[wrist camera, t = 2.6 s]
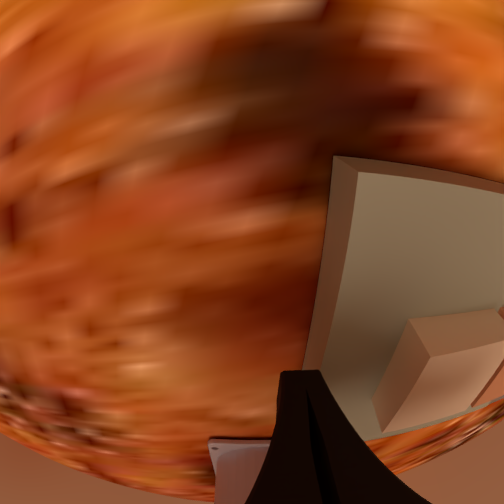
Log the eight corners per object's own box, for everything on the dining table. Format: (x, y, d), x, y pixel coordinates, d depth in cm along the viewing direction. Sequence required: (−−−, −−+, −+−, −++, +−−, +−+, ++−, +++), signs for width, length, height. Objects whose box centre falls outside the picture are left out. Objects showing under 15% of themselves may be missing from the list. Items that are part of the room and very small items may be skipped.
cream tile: (451, 382, 12) (465, 410, 10) (371, 399, 12) (381, 433, 10) (493, 308, 10) (517, 336, 8) (408, 318, 10) (430, 357, 8)
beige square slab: (474, 383, 17) (486, 405, 14) (291, 415, 16) (295, 449, 14) (557, 199, 10) (585, 216, 7) (333, 155, 9) (358, 171, 7)
